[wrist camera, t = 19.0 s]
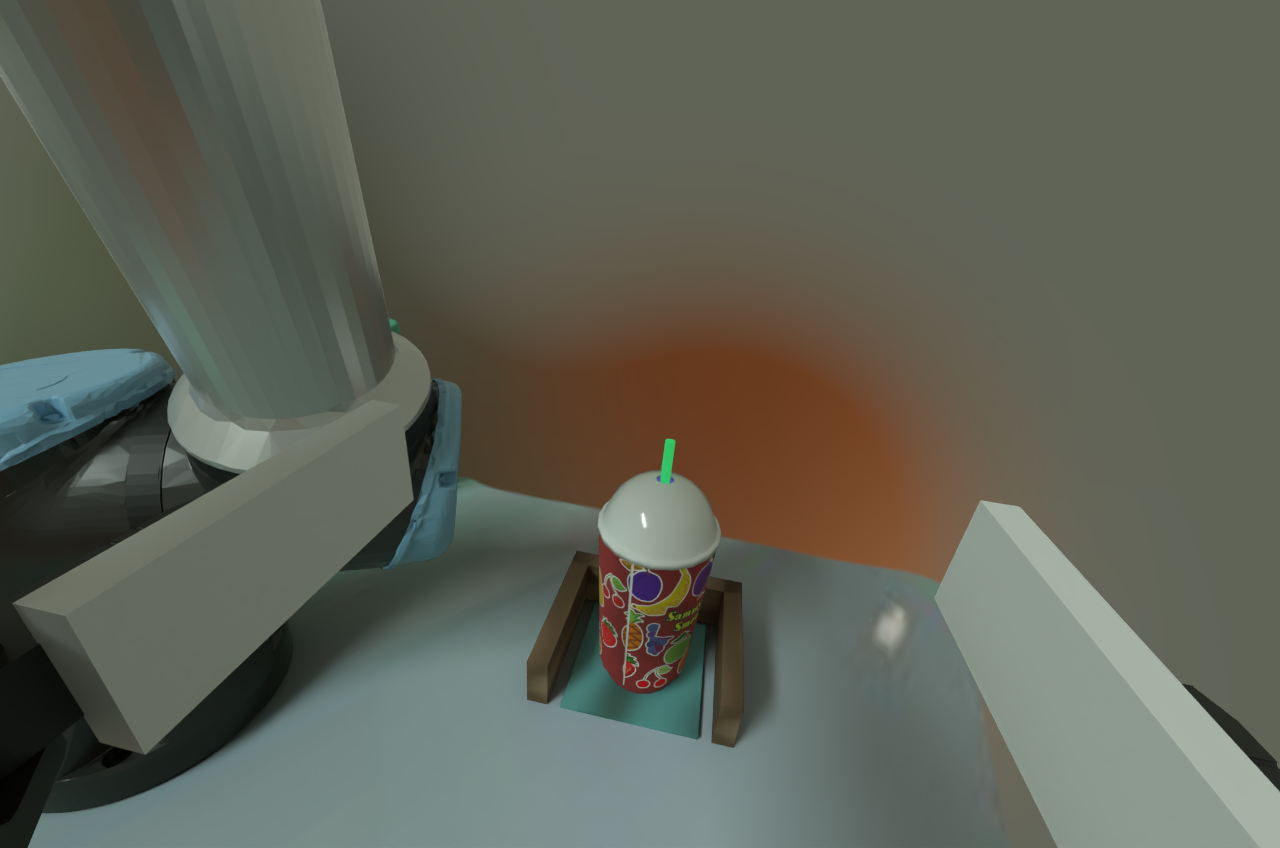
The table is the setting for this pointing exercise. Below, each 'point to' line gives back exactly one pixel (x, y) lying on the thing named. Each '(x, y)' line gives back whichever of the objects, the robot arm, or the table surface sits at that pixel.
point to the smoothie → (653, 575)
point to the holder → (607, 699)
